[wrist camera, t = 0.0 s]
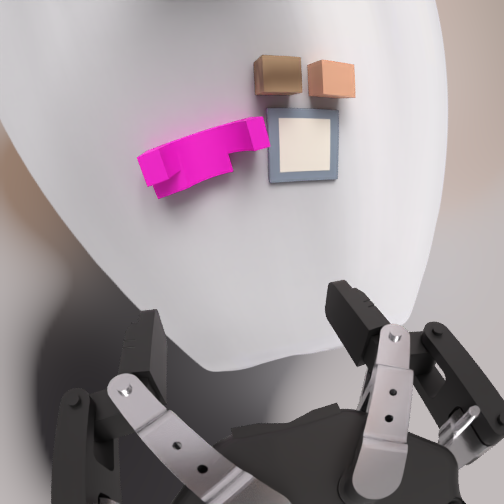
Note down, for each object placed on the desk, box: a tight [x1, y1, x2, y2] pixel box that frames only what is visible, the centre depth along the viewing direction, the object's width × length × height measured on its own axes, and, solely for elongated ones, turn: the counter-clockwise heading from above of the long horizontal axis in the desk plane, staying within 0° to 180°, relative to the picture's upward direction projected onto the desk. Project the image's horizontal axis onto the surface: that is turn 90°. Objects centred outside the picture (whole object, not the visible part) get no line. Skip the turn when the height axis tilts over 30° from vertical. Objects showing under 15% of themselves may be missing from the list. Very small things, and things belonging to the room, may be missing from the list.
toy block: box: [137, 116, 271, 199], centre depth 33 cm, size 15×6×8 cm, turn 105°
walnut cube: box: [254, 55, 302, 95], centre depth 31 cm, size 5×5×5 cm
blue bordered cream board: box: [266, 108, 339, 183], centre depth 38 cm, size 11×11×1 cm
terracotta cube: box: [307, 60, 355, 98], centre depth 32 cm, size 5×5×5 cm
